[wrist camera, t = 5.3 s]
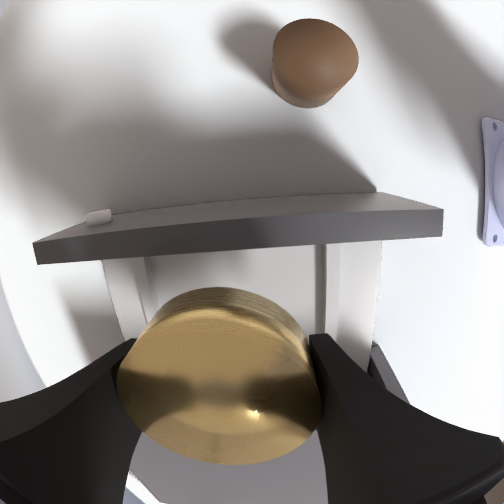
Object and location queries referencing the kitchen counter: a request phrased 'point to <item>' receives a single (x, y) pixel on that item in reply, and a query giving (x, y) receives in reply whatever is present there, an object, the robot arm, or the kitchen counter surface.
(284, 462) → the housing
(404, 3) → the kitchen counter surface
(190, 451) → the disc
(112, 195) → the kitchen counter surface
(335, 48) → the brown domed cylinder
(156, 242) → the tray
